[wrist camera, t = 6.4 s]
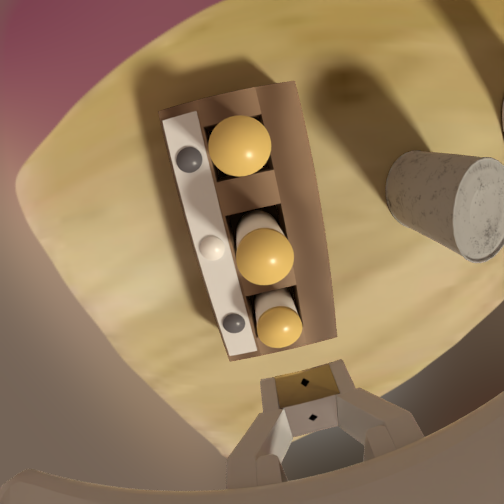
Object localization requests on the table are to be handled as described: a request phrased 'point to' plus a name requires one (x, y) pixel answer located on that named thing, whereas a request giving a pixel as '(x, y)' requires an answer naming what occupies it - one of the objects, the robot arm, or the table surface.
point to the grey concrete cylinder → (450, 200)
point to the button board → (273, 203)
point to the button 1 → (239, 145)
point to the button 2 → (277, 318)
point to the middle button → (262, 249)
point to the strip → (208, 230)
